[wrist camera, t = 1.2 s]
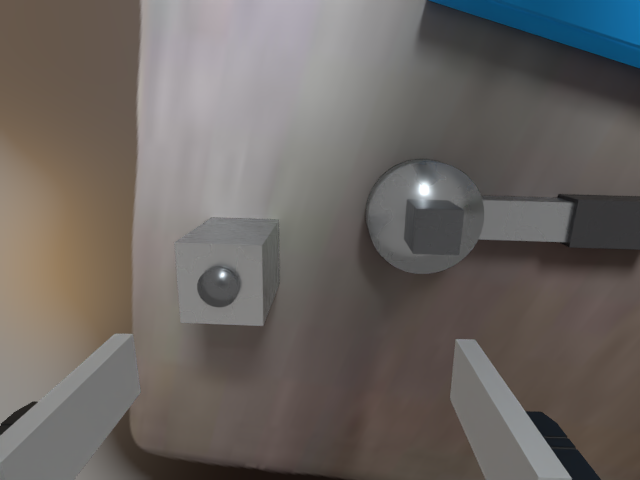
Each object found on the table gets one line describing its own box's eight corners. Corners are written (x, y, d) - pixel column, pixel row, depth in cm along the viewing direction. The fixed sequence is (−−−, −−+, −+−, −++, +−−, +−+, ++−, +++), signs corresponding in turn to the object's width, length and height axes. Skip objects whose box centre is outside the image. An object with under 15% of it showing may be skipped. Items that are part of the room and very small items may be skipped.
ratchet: (368, 157, 33) (376, 164, 26) (665, 165, 32) (753, 173, 25) (362, 260, 35) (369, 290, 28) (639, 269, 34) (712, 303, 28)
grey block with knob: (211, 217, 35) (170, 245, 26) (279, 219, 35) (260, 248, 26) (214, 281, 36) (177, 326, 28) (279, 283, 36) (261, 330, 28)
